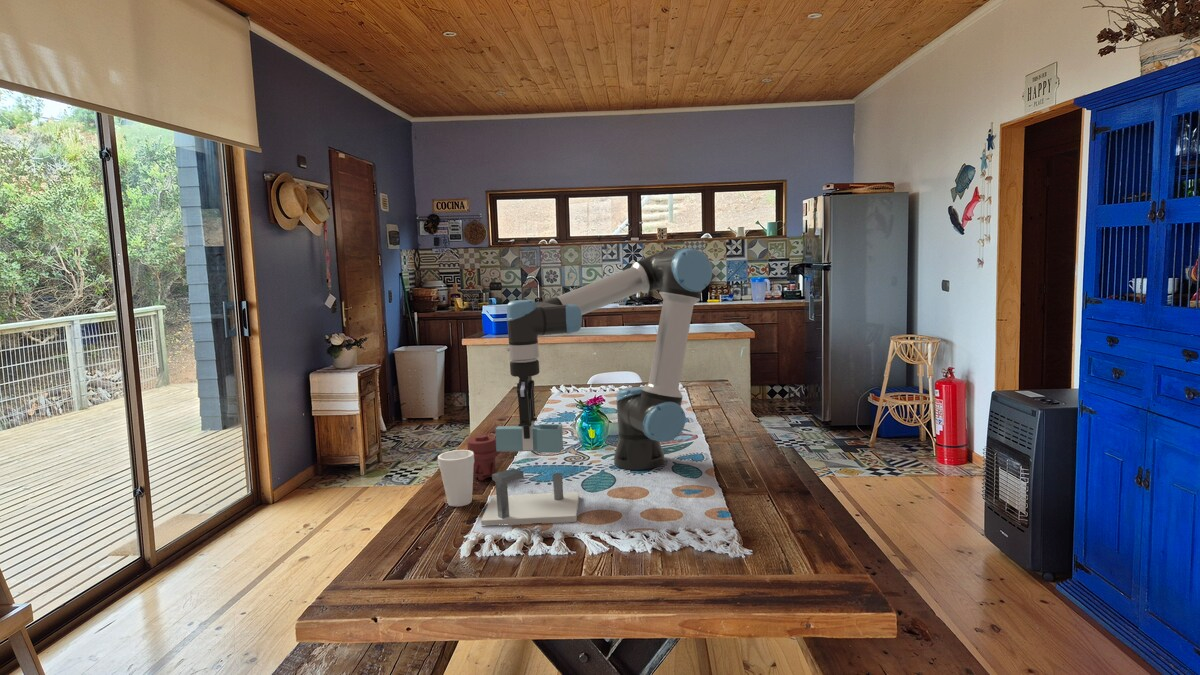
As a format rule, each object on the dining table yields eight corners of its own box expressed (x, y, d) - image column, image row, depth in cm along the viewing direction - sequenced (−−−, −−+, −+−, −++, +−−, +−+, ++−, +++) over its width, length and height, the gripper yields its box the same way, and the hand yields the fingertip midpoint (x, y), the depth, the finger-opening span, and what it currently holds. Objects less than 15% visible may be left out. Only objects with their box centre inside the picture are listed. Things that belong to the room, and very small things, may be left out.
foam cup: (447, 511, 187) (442, 462, 186) (437, 501, 195) (433, 454, 194) (482, 503, 192) (478, 455, 190) (471, 493, 200) (467, 447, 198)
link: (562, 446, 193) (562, 424, 193) (560, 452, 187) (559, 429, 187) (499, 446, 194) (498, 424, 194) (495, 453, 188) (494, 430, 188)
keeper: (517, 514, 182) (513, 468, 181) (526, 518, 179) (523, 471, 177) (495, 521, 178) (491, 474, 177) (505, 526, 175) (501, 478, 173)
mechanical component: (505, 471, 218) (494, 482, 208) (474, 471, 220) (461, 482, 210) (502, 431, 216) (491, 440, 206) (471, 431, 218) (458, 440, 208)
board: (579, 497, 192) (577, 468, 191) (576, 521, 175) (574, 489, 174) (492, 501, 192) (490, 472, 191) (481, 526, 176) (478, 494, 175)
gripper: (515, 355, 196) (520, 440, 199) (504, 365, 180) (509, 457, 183) (542, 354, 196) (547, 439, 199) (534, 364, 180) (539, 456, 183)
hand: (529, 447), depth 191 cm, fingers closed on link, 3 cm apart
